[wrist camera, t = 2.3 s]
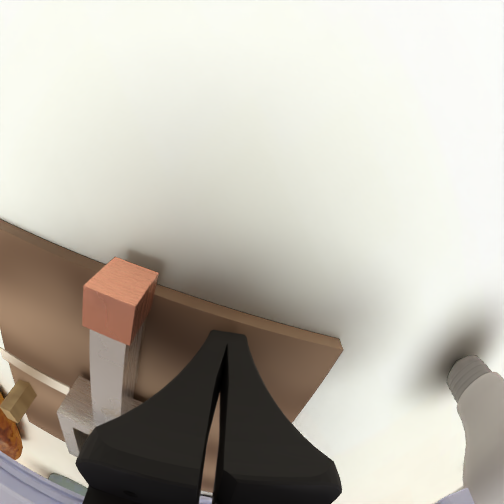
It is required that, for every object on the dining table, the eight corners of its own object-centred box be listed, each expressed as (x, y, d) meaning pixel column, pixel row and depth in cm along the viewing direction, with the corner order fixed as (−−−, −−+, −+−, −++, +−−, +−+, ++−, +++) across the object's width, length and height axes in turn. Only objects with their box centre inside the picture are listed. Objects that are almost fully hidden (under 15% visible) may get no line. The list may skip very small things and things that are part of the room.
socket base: (228, 487, 19) (224, 537, 14) (28, 412, 17) (4, 452, 12) (344, 330, 12) (379, 419, 7) (-6, 207, 10) (-77, 239, 6)
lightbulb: (409, 358, 13) (494, 533, 3) (494, 302, 12) (606, 427, 2) (420, 411, 15) (474, 541, 5) (491, 365, 14) (563, 473, 3)
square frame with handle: (156, 450, 15) (147, 484, 12) (84, 421, 14) (69, 453, 11) (200, 286, 10) (184, 332, 8) (80, 243, 10) (37, 273, 7)
